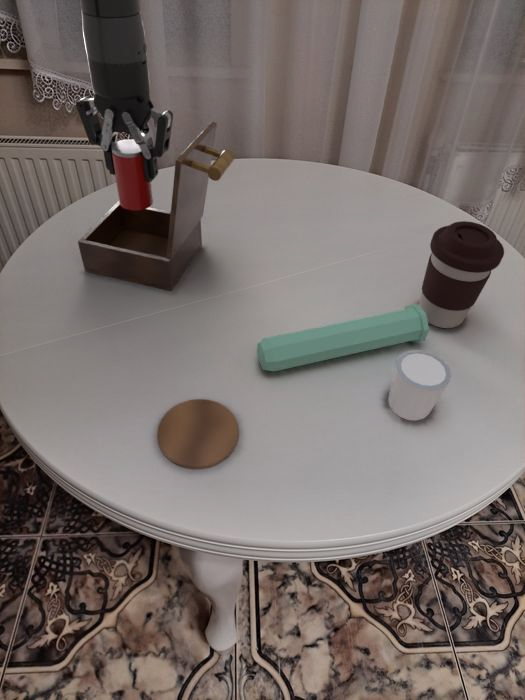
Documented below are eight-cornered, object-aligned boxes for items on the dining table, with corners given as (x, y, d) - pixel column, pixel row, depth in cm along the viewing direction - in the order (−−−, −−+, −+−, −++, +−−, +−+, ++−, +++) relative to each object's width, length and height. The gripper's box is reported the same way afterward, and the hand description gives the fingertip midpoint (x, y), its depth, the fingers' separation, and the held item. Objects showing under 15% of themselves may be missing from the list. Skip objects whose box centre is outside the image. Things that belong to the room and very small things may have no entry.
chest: (84, 271, 85) (77, 241, 81) (123, 229, 94) (118, 200, 90) (171, 291, 82) (168, 261, 78) (202, 246, 92) (200, 217, 87)
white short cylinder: (445, 412, 68) (463, 377, 63) (406, 432, 65) (421, 397, 60) (411, 377, 72) (424, 342, 67) (373, 395, 69) (384, 360, 64)
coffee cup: (480, 310, 83) (517, 230, 72) (459, 344, 77) (497, 263, 66) (422, 286, 86) (450, 207, 76) (399, 318, 80) (425, 236, 70)
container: (262, 345, 66) (430, 310, 72) (249, 330, 71) (407, 298, 77) (266, 385, 68) (428, 348, 74) (253, 367, 74) (406, 334, 79)
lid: (175, 159, 66) (213, 173, 66) (212, 121, 75) (245, 133, 75) (166, 258, 78) (198, 270, 78) (198, 214, 87) (227, 225, 87)
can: (117, 210, 79) (108, 153, 72) (121, 193, 82) (113, 138, 76) (151, 211, 79) (145, 154, 73) (154, 194, 83) (148, 139, 76)
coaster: (154, 470, 59) (153, 467, 59) (160, 402, 66) (160, 399, 66) (240, 467, 60) (240, 464, 60) (237, 401, 67) (237, 398, 67)
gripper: (50, 51, 64) (77, 178, 76) (155, 68, 62) (166, 196, 74) (81, 36, 69) (102, 157, 81) (180, 52, 67) (186, 174, 79)
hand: (133, 175), depth 77 cm, fingers closed on can, 5 cm apart
